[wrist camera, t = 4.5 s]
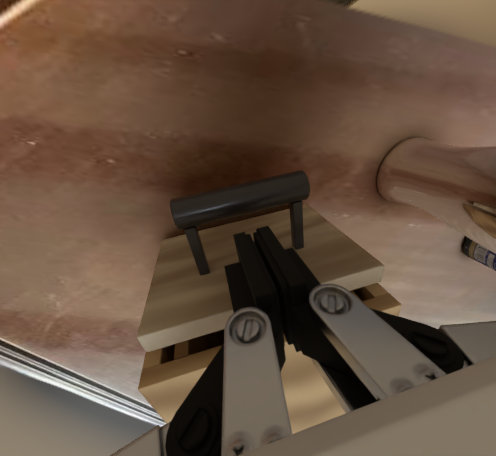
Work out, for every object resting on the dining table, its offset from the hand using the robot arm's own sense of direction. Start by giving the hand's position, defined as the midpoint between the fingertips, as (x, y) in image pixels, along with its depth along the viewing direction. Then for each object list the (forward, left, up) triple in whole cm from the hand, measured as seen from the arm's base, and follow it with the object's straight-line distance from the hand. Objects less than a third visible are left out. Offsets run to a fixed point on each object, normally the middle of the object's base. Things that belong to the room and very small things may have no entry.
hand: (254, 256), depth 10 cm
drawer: (+7, 0, -8) cm, 10 cm away
